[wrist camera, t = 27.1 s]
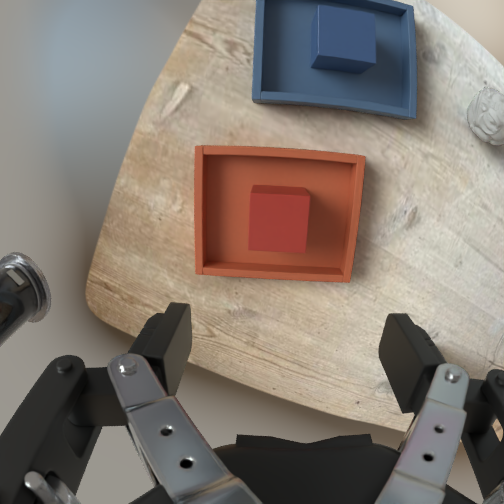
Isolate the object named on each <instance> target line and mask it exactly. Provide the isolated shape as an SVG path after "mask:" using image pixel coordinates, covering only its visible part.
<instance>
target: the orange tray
mask: <svg viewBox="0 0 504 504" xmlns="http://www.w3.org/2000/svg"><path fill="white" fill-rule="evenodd" d="M364 170H365V156H361V155H355V154H347V153H337V152H327V151H316V150H304V149H290V148H274V147H253V146H211V145H201V146H195V170H194V224H195V272H196V274H199V275H214V276H230V277H246V278H264V279H282V280H302V281H324V282H348V283H349V282H350V279H351V273H352V267H353V260H354V254H355V247H356V240H357V233H358V225H359V217H360V209H361V200H362V191H363V180H364ZM253 185H271V186H288V187H304V188H305V189H306V191H307V192H308V194H309V195H310V197H311V200H310V212H309V224H308V235H307V246H306V253H289V252H270V251H251V250H248V229H249V201H250V192H251V189H252V186H253Z"/></svg>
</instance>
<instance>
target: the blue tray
mask: <svg viewBox="0 0 504 504" xmlns="http://www.w3.org/2000/svg"><path fill="white" fill-rule="evenodd" d="M318 5H323V6H331V7H338V8H344V9H350V10H356V11H361V12H366V13H371V14H375V29H376V64H375V65H373V66H372V67H370V68H369V69H367V70H366V71H365V72H363V73H362V74H356V73H349V72H342V71H335V70H327V69H318V68H311V67H310V65H311V23H312V20H313V17H314V15H315V12H316V9H317V6H318ZM252 100H253V102H254V103H272V104H289V105H302V106H313V107H323V108H332V109H341V110H349V111H356V112H363V113H369V114H376V115H382V116H387V117H393V118H398V119H404V120H407V119H416V109H417V56H416V35H415V21H414V9H413V6H411V5H407V4H404V3H400V2H397V1H393V0H256V14H255V36H254V59H253V82H252Z"/></svg>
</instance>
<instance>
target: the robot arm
mask: <svg viewBox="0 0 504 504" xmlns="http://www.w3.org/2000/svg"><path fill="white" fill-rule="evenodd" d="M40 307H41V296H40V292H39V289H38V286H37V284H36V282H35V280H34V278H33V277H32V275H31V274H30V273H29V272H28V271H27V270H26V269H25V268H24V267H23V266H21V265H20V264H17V263H8V264H6V265H5V266H3V267H2V268H1V269H0V347H1V346H2V345H3V343H5V342H6V341H7V340H8V339H9V338H10V337H11V336H12V335H13V334H14V333H15V332H16V331H17V330H18V329H19V328H21V327H22V326H23V325H24V324H25V323H26V322H27V321H28V320H29V319H30V318H31V317H33V316H35V315H36V314H37V313H38V312H39V310H40ZM191 347H192V325H191V308H190V304H186V303H175V302H171V303H170V304H169V306H168V308H167V309H166V311H165V313H164V314H163V313H157V314H155V315H154V316H152V317H151V318H149V319H148V320H147V322H146V324H145V325H144V328H143V329H142V330H141V332H140V334H139V335H138V337H137V338H136V340H135V342H134V343H133V345H132V347H131V348H130V350H129V351H128V353H127V354H122V355H119V356H117V357H115V358H113V359H112V360H111V361H110V362H109V364H108V366H107V367H102V368H85V365H84V362H83V360H82V359H81V358H79V357H77V356H72V355H65V356H61V357H58V358H56V359H54V360H53V361H52V362H51V363H50V364H49V365H48V366H47V368H46V369H45V370H44V372H43V373H42V375H41V376H40V377H39V379H38V380H37V382H36V383H35V384H34V386H33V387H32V389H31V390H30V392H29V393H28V394H27V396H26V397H25V399H24V400H23V402H22V403H21V405H20V406H19V408H18V409H17V411H16V412H15V414H14V415H13V417H12V419H11V420H10V421H9V423H8V424H7V426H6V428H5V429H4V431H3V432H2V434H1V436H0V504H81V503H80V502H79V500H78V499H77V498H76V497H75V495H76V493H77V490H78V487H79V485H80V482H81V479H82V477H83V474H84V471H85V469H86V466H87V464H88V461H89V459H90V456H91V454H92V451H93V449H94V446H95V444H96V441H97V439H98V437H99V434H100V432H101V429H102V427H103V426H125V427H126V430H127V432H128V434H129V436H130V439H131V440H132V443H133V445H134V447H135V449H136V451H137V453H138V455H139V457H140V459H141V461H142V463H143V466H144V468H145V470H146V472H147V474H148V476H149V478H150V480H151V482H152V484H153V486H154V488H153V489H151V490H150V491H148V492H146V493H145V494H143V495H142V496H140V497H139V498H137V499H136V500H134V501H132V502H131V503H129V504H477V503H475V502H474V501H472V500H470V499H469V498H467V497H465V496H464V495H463V494H461V493H459V492H458V491H456V490H455V489H453V488H452V487H450V486H449V485H447V484H446V482H447V479H448V477H449V474H450V471H451V468H452V465H453V462H454V459H455V456H456V452H457V449H458V446H459V442H460V439H461V440H462V443H463V445H464V447H465V450H466V452H467V455H468V458H469V460H470V463H471V465H472V468H473V470H474V473H475V476H476V478H477V481H478V484H479V487H480V490H481V493H482V496H483V499H484V501H483V504H504V371H503V370H499V369H494V370H490V371H489V372H488V374H487V376H486V378H485V380H478V379H470V378H469V375H468V373H467V372H466V370H464V369H463V368H462V367H460V366H458V365H456V364H451V363H447V362H446V360H445V359H444V357H443V356H442V354H441V353H440V351H439V350H438V348H437V347H436V346H435V344H434V343H433V341H432V340H431V338H430V337H429V335H428V334H427V333H426V331H425V330H423V329H422V328H421V327H419V326H418V325H415V324H414V323H413V322H412V320H411V319H410V317H409V316H408V315H407V314H406V313H390V314H389V315H388V316H387V319H386V323H385V326H384V330H383V334H382V337H381V341H380V344H379V359H380V361H381V364H382V366H383V368H384V370H385V373H386V375H387V377H388V380H389V382H390V385H391V387H392V389H393V392H394V394H395V397H396V399H397V401H398V404H399V406H400V409H401V411H402V414H403V413H411V412H414V414H415V416H414V417H413V419H412V421H411V423H410V426H409V428H408V430H407V432H406V434H405V436H404V438H403V440H402V442H401V444H400V446H399V448H398V450H395V449H393V448H390V447H388V446H384V445H381V444H376V443H372V439H371V436H370V434H362V435H349V436H338V437H334V438H330V439H325V440H321V441H317V442H313V443H307V444H306V443H299V442H294V441H290V440H285V439H280V438H276V437H271V436H252V435H238V434H237V438H236V439H237V440H236V444H229V445H225V446H221V447H217V448H214V449H212V448H211V447H210V445H209V444H208V443H207V441H206V440H205V439H204V437H203V436H202V434H201V433H200V432H199V430H198V429H197V427H196V426H195V425H194V423H193V422H192V420H191V419H190V418H189V416H188V415H187V413H186V412H185V410H184V409H183V407H182V406H181V404H180V403H179V401H178V400H177V398H176V397H175V395H176V392H177V389H178V386H179V383H180V380H181V377H182V375H183V372H184V368H185V366H186V363H187V360H188V357H189V354H190V352H191ZM496 419H498V420H499V422H500V424H501V426H502V428H503V438H502V440H501V442H500V441H499V439H498V437H497V435H496V433H495V431H494V429H493V427H492V425H493V423H494V422H495V420H496Z"/></svg>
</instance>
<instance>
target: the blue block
mask: <svg viewBox="0 0 504 504" xmlns="http://www.w3.org/2000/svg"><path fill="white" fill-rule="evenodd" d="M375 64H376V29H375V14H371V13H366V12H361V11H356V10H350V9H344V8H338V7H331V6H323V5H318V6H317V9H316V12H315V15H314V17H313V20H312V23H311V65H310V67H311V68H318V69H327V70H335V71H342V72H349V73H356V74H362V73H363V72H365V71H366V70H367V69H369V68H370V67H372V66H373V65H375Z"/></svg>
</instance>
